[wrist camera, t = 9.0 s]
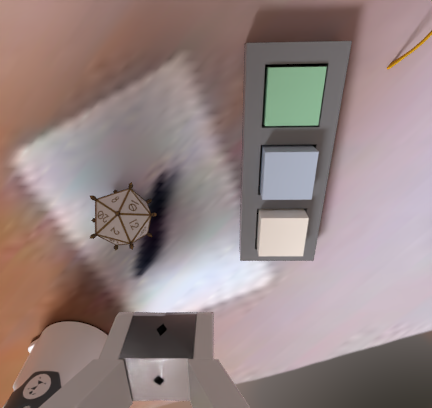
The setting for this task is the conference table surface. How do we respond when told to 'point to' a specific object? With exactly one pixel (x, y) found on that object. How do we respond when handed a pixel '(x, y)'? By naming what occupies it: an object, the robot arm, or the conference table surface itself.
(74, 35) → the conference table surface
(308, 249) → the button panel
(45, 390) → the robot arm
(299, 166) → the slate blue button
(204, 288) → the conference table surface
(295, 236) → the cream button
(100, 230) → the game die
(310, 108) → the green button
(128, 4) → the conference table surface
